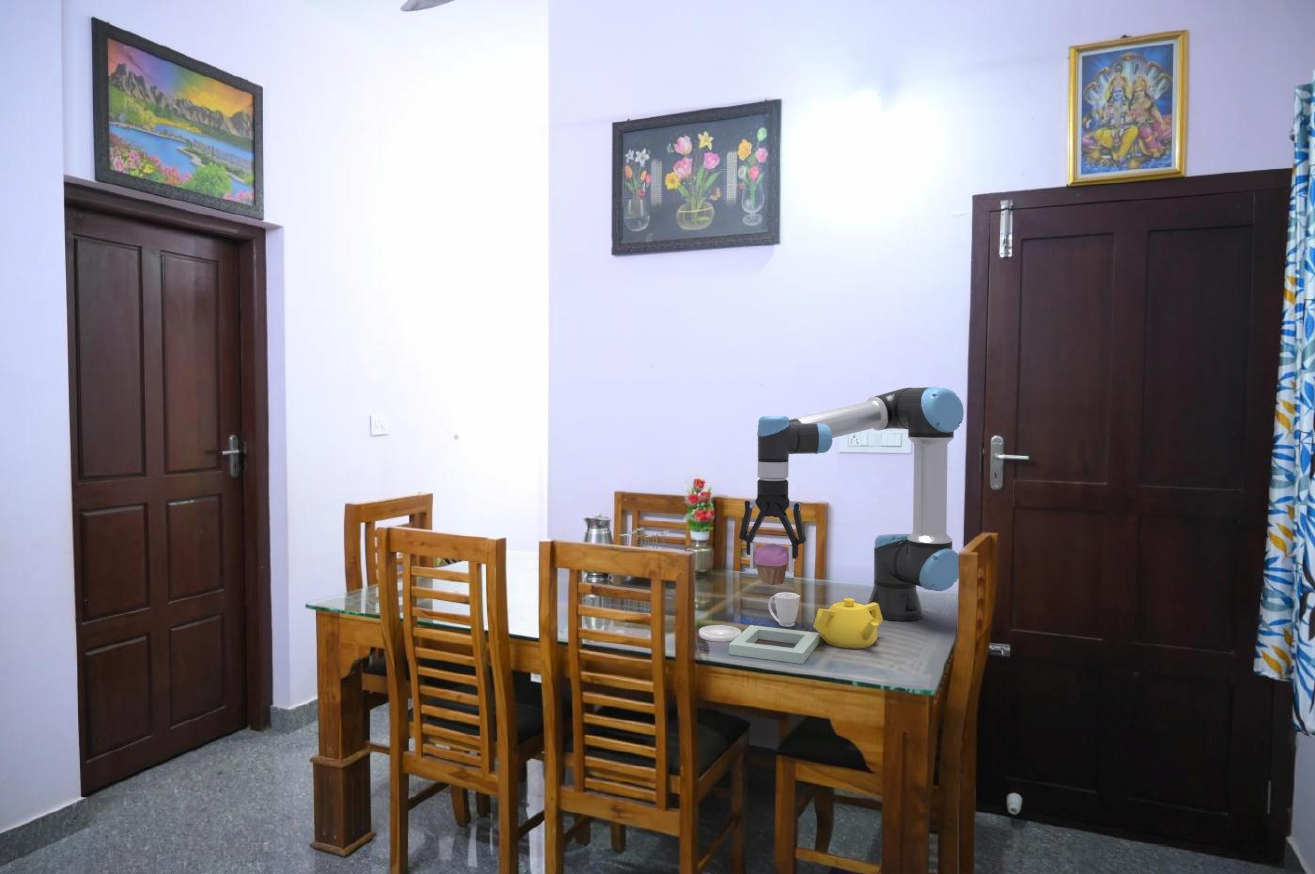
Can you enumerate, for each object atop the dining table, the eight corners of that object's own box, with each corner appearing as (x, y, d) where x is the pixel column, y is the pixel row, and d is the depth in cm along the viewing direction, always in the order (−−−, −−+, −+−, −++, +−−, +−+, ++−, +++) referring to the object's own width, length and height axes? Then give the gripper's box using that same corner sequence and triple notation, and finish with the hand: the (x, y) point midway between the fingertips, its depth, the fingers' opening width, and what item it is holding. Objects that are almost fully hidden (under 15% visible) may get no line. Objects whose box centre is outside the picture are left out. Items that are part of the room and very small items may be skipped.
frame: (819, 642, 207) (819, 633, 207) (802, 663, 191) (802, 653, 191) (750, 634, 214) (750, 625, 214) (728, 654, 198) (729, 644, 198)
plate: (746, 632, 216) (746, 627, 216) (733, 643, 206) (733, 638, 206) (707, 627, 221) (707, 622, 220) (692, 638, 210) (692, 633, 210)
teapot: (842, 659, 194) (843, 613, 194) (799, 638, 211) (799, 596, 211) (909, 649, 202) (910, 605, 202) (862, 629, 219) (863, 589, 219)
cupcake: (797, 585, 201) (797, 544, 201) (770, 589, 196) (770, 548, 196) (772, 578, 209) (773, 539, 208) (746, 582, 204) (746, 542, 203)
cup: (788, 629, 219) (788, 599, 219) (760, 621, 227) (760, 592, 226) (805, 624, 224) (805, 595, 223) (777, 617, 231) (777, 588, 231)
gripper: (820, 479, 200) (818, 570, 202) (734, 475, 209) (734, 563, 210) (813, 482, 194) (812, 576, 195) (726, 478, 202) (725, 569, 203)
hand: (772, 569), depth 202 cm, fingers closed on cupcake, 9 cm apart
